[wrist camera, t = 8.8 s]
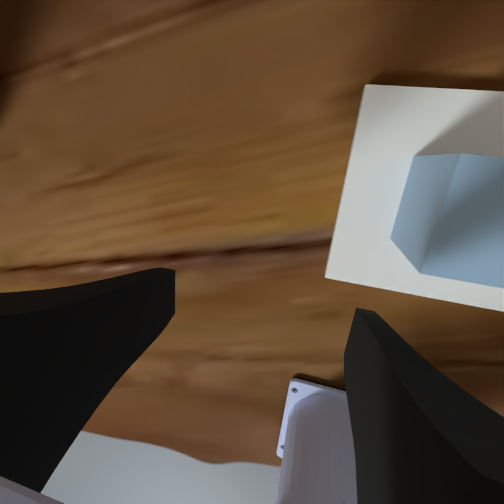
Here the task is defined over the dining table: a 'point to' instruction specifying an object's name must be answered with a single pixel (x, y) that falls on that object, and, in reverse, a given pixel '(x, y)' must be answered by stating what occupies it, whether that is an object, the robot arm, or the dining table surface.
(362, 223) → the plate
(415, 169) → the blue block
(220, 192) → the dining table surface
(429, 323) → the dining table surface
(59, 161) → the dining table surface
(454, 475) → the robot arm
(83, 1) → the dining table surface
